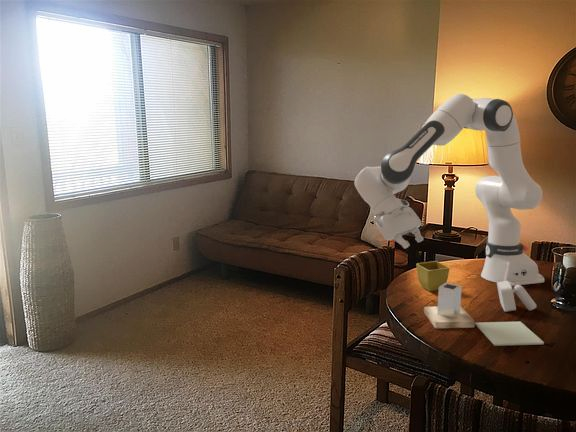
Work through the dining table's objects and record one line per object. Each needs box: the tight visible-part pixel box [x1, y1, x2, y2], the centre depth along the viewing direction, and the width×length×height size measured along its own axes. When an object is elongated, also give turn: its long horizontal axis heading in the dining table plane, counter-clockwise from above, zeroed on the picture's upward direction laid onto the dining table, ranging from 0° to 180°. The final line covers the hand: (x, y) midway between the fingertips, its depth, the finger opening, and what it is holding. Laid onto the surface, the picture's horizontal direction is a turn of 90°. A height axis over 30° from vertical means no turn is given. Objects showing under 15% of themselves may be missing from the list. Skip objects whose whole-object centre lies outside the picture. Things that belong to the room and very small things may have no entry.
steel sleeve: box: [437, 282, 463, 318], centre depth 159 cm, size 5×5×9 cm
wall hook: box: [496, 281, 537, 313], centre depth 167 cm, size 8×10×10 cm
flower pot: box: [415, 260, 450, 292], centre depth 186 cm, size 9×9×9 cm
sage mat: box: [475, 321, 545, 347], centre depth 150 cm, size 14×14×1 cm
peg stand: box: [423, 305, 476, 329], centre depth 160 cm, size 12×12×9 cm
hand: (414, 244), depth 164 cm, fingers open, 8 cm apart
